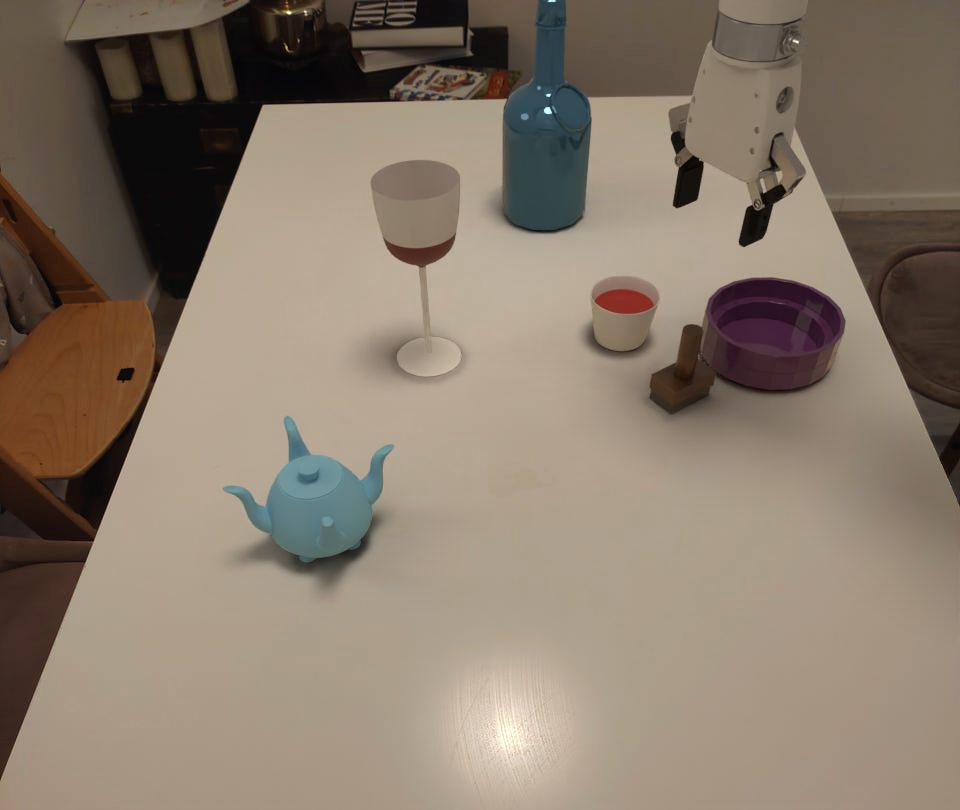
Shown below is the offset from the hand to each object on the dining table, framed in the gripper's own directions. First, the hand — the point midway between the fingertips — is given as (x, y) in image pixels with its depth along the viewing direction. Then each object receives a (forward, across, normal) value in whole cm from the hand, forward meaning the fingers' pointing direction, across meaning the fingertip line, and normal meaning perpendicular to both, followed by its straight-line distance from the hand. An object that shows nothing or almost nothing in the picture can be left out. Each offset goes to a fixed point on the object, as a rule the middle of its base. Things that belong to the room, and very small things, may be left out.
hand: (716, 222), depth 90 cm
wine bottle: (+22, +46, -14) cm, 53 cm away
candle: (+22, +14, -2) cm, 27 cm away
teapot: (+22, +6, +48) cm, 53 cm away
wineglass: (+22, +26, +21) cm, 40 cm away
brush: (+22, 0, 0) cm, 22 cm away
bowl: (+22, 0, -15) cm, 27 cm away
